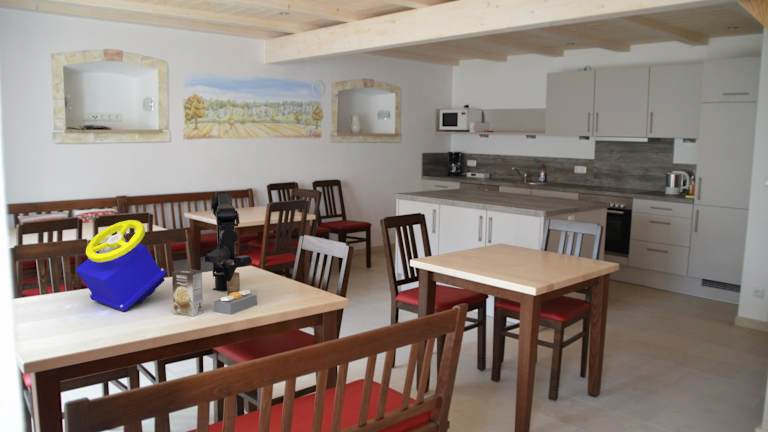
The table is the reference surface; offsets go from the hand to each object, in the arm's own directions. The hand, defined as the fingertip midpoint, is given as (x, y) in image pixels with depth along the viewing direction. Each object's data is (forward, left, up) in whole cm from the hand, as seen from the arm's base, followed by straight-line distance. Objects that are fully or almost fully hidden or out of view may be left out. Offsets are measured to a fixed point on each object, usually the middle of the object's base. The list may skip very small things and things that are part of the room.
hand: (228, 281), depth 242 cm
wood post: (-8, +12, -10) cm, 17 cm away
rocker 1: (+3, -4, -5) cm, 7 cm away
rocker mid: (+3, 0, -5) cm, 6 cm away
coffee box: (-8, -13, -11) cm, 19 cm away
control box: (-37, -17, -11) cm, 42 cm away
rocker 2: (+3, +5, -5) cm, 8 cm away
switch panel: (+3, 0, -10) cm, 11 cm away
